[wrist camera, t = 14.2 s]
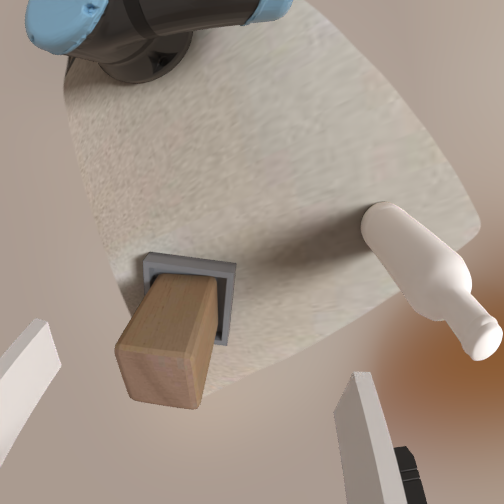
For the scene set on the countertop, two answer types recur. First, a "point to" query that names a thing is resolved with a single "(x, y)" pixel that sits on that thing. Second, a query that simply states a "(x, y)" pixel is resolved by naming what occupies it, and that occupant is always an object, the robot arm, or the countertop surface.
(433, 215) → the countertop surface
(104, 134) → the countertop surface
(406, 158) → the countertop surface
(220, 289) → the tray
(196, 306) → the wooden block
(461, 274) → the bottle
